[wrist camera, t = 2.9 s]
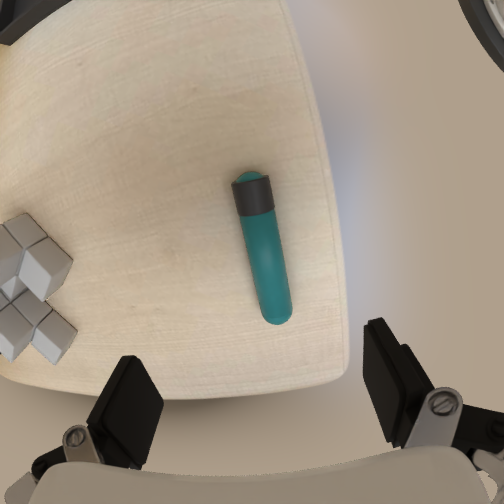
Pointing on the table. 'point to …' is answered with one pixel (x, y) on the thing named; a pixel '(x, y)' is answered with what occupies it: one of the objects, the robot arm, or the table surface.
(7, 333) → the grey cube puzzle structure
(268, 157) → the table surface
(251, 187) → the marker pen
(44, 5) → the black tray
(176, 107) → the table surface
